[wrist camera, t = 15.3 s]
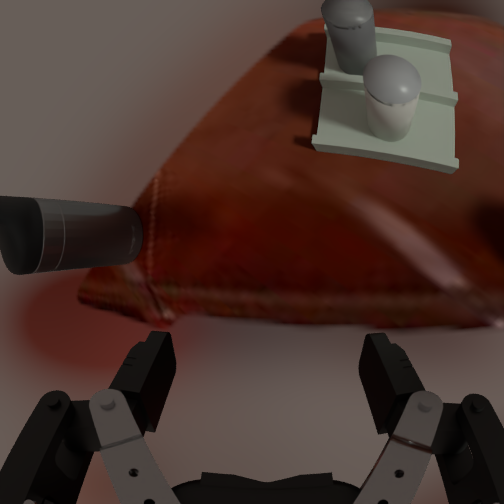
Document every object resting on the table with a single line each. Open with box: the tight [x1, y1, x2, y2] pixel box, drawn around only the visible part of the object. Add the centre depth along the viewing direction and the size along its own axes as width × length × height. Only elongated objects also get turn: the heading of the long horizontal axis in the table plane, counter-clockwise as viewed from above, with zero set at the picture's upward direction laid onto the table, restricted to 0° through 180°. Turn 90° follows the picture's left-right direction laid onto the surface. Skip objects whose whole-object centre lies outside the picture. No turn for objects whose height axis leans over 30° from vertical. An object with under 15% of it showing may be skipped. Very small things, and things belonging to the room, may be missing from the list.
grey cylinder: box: [321, 0, 377, 76], centre depth 24 cm, size 5×5×10 cm
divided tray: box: [312, 24, 459, 174], centre depth 27 cm, size 16×17×3 cm
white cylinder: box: [363, 55, 421, 142], centre depth 24 cm, size 5×5×10 cm
